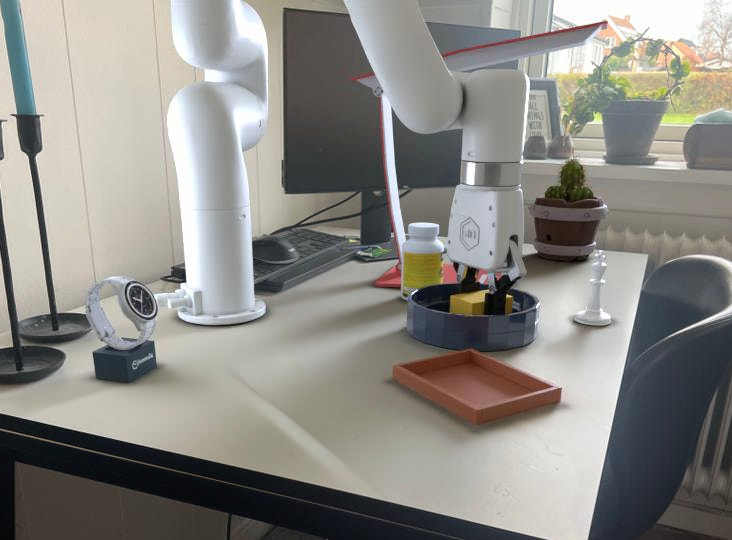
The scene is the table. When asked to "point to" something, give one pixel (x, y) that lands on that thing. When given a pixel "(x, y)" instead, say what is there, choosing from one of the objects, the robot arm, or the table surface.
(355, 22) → the robot arm
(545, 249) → the flowerpot
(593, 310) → the chess piece
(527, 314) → the bowl
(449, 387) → the sponge dish
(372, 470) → the table surface
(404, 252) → the pill bottle
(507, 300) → the sponge
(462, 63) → the desk lamp
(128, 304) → the watch
